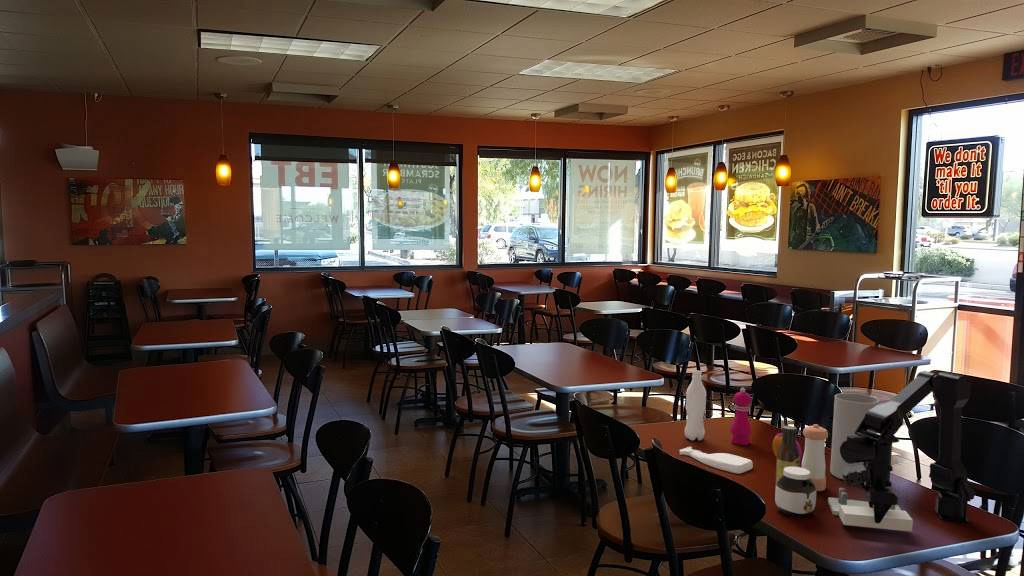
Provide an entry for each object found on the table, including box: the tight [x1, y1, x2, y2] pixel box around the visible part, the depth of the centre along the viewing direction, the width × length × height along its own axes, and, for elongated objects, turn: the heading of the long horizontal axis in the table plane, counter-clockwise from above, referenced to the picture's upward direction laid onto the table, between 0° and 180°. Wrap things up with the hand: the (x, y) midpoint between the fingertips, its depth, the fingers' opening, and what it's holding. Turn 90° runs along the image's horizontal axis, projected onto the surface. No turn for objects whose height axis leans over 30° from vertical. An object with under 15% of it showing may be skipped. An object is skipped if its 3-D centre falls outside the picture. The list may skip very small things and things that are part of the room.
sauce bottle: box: [775, 425, 801, 485], centre depth 212 cm, size 7×6×20 cm
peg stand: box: [827, 487, 902, 516], centre depth 201 cm, size 18×10×5 cm, turn 74°
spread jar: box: [774, 466, 817, 518], centre depth 202 cm, size 12×11×12 cm
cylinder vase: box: [829, 392, 880, 481], centre depth 228 cm, size 12×12×25 cm
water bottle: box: [684, 369, 707, 441], centre depth 265 cm, size 7×7×25 cm
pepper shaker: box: [801, 423, 829, 492], centre depth 219 cm, size 7×7×19 cm
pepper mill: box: [729, 387, 752, 446], centre depth 262 cm, size 7×7×20 cm
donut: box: [772, 432, 802, 460], centre depth 240 cm, size 8×9×10 cm
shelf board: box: [838, 505, 914, 532], centre depth 189 cm, size 16×6×3 cm, turn 77°
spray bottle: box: [679, 446, 754, 475], centre depth 242 cm, size 3×11×24 cm
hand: (874, 517), depth 189 cm, fingers closed on shelf board, 6 cm apart
